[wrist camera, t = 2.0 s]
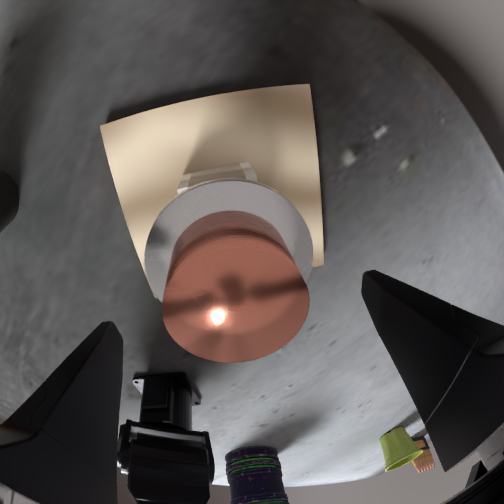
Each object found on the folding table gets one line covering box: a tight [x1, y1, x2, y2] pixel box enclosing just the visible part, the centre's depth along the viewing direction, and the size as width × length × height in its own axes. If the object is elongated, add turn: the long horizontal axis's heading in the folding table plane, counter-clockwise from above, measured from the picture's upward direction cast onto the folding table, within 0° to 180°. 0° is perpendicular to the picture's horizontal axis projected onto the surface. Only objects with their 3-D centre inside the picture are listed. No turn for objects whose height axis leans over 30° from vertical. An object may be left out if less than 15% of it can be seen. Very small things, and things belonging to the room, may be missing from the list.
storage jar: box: [225, 446, 289, 504], centre depth 37 cm, size 10×10×15 cm
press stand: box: [100, 84, 324, 298], centre depth 18 cm, size 14×14×4 cm
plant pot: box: [380, 427, 423, 472], centre depth 47 cm, size 9×9×9 cm
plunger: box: [144, 178, 313, 363], centre depth 12 cm, size 7×7×7 cm
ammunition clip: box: [412, 436, 435, 473], centre depth 54 cm, size 11×2×12 cm, turn 62°
